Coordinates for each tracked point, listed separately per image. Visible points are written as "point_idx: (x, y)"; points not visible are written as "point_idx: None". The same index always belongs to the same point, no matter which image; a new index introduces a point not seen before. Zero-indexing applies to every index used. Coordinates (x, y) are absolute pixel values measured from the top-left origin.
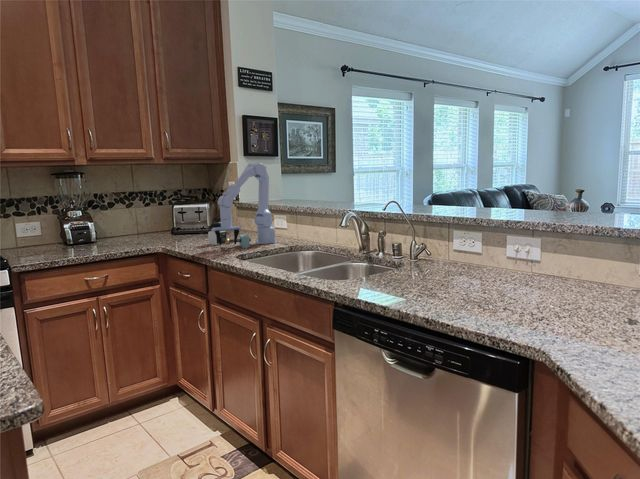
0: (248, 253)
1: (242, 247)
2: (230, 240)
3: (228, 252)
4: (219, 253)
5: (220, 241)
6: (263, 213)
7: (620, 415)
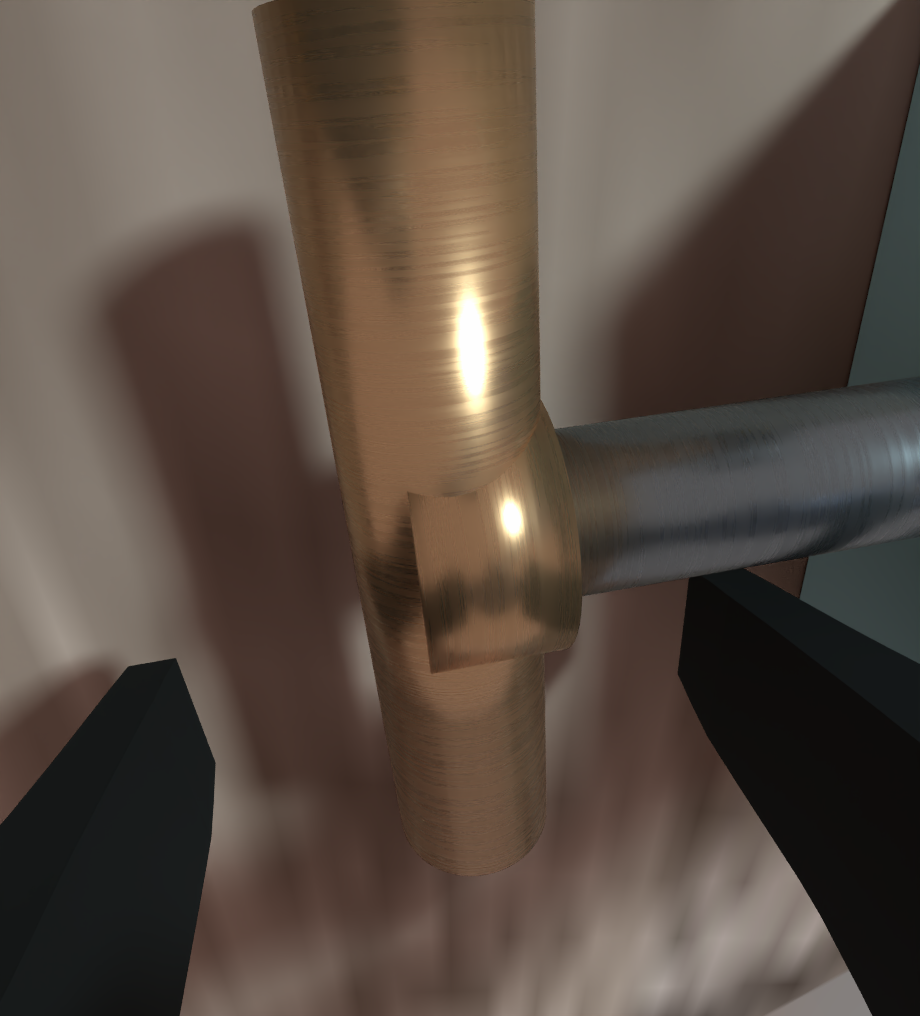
0: (755, 986)
1: (820, 609)
2: (611, 590)
3: (447, 937)
4: (271, 996)
5: (183, 937)
6: None
7: None
